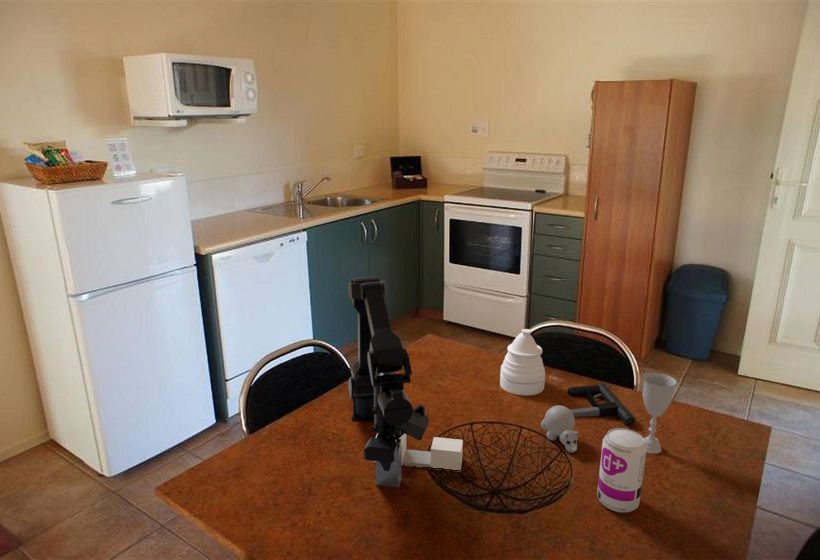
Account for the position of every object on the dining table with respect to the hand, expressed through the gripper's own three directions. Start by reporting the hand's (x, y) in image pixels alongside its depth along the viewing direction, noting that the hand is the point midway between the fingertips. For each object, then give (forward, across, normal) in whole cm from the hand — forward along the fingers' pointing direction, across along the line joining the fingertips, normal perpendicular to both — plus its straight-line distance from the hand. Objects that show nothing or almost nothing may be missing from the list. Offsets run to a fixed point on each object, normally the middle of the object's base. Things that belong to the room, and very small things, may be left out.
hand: (388, 466), depth 123 cm
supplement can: (+4, +2, -48) cm, 48 cm away
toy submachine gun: (+5, +42, -48) cm, 64 cm away
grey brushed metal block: (+4, 0, 0) cm, 4 cm away
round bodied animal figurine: (+4, +23, -38) cm, 45 cm away
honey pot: (+4, +52, -29) cm, 60 cm away
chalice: (+4, +24, -59) cm, 64 cm away
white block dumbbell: (+4, +9, -5) cm, 11 cm away
